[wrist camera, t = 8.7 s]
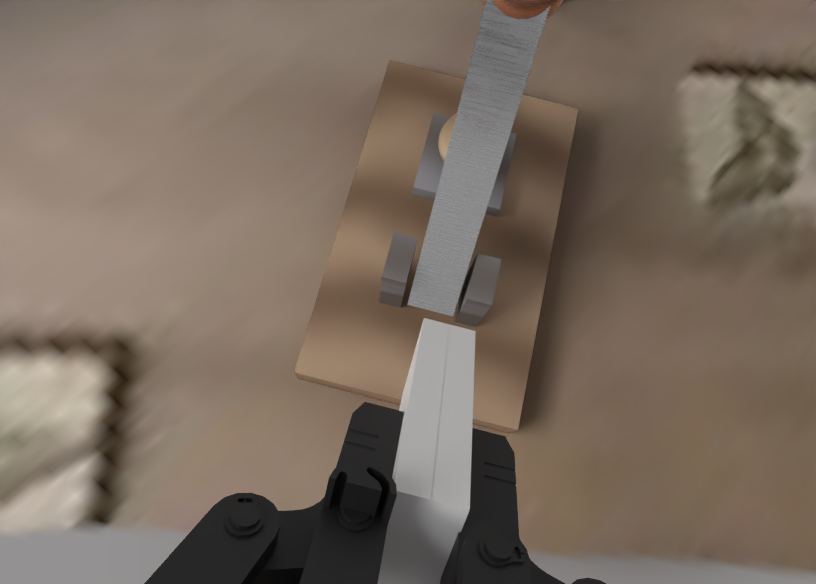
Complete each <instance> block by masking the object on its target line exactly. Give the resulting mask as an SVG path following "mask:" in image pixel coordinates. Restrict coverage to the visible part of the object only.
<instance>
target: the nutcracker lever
mask: <svg viewBox="0 0 816 584" xmlns="http://www.w3.org/2000/svg"><path fill="white" fill-rule="evenodd" d="M563 1H564V0H482V2H483V4H484V6H485V7H484V11H483V15H482V19H481V23H480V26H479V30H478V34H477V38H476V42H475V46H474V50H473V53H472V57H471V61H470V65H469V69H468V73H467V77H466V80H465V84H464V88H463V92H462V96H461V100H460V104H459V107H458V111H457V115H456V119H455V123H454V127H453V131H452V134H451V138H450V142H449V146H448V150H447V154H446V158H445V161H444V165H443V169H442V173H441V177H440V181H439V184H438V188H437V192H436V196H435V200H434V204H433V208H432V211H431V215H430V219H429V223H428V227H427V231H426V235H425V238H424V242H423V246H422V250H421V254H420V258H419V262H418V265H417V269H416V273H415V277H414V281H413V285H412V289H411V293H410V296H409V300H408V304H407V305H410V306H414V307H418V308H422V309H426V310H430V311H433V312H437V313H441V314H445V315H449V316H453V315H454V312H455V308H456V305H457V302H458V299H459V296H460V292H461V289H462V286H463V283H464V280H465V276H466V273H467V270H468V267H469V264H470V260H471V257H472V254H473V251H474V248H475V244H476V241H477V238H478V235H479V232H480V228H481V225H482V222H483V219H484V216H485V212H486V209H487V206H488V203H489V200H490V196H491V193H492V190H493V187H494V184H495V180H496V177H497V174H498V171H499V168H500V164H501V161H502V158H503V155H504V152H505V148H506V145H507V142H508V139H509V136H510V132H511V129H512V126H513V123H514V120H515V116H516V113H517V110H518V107H519V104H520V100H521V97H522V94H523V91H524V88H525V84H526V81H527V78H528V75H529V72H530V68H531V65H532V62H533V59H534V56H535V52H536V49H537V46H538V43H539V40H540V36H541V33H542V30H543V27H544V24H545V20H546V19H547V18H549V17H550V16H551V15H552V14H553V13H555V12H556V10H557V9H558V8H559V7H560V5H561V4H562V2H563Z"/></svg>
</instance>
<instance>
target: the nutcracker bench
mask: <svg viewBox="0 0 816 584" xmlns="http://www.w3.org/2000/svg"><path fill="white" fill-rule="evenodd" d="M464 84H465V79H462V78H458V77H454V76H450V75H446V74H442V73H438V72H434V71H431V70H427V69H423V68H419V67H415V66H411V65H407V64H403V63H399V62H396V61H392V60H390V61H389V64H388V67H387V71H386V74H385V77H384V80H383V84H382V87H381V90H380V93H379V97H378V100H377V103H376V106H375V110H374V113H373V116H372V120H371V123H370V126H369V129H368V133H367V136H366V139H365V142H364V146H363V149H362V152H361V155H360V159H359V162H358V165H357V168H356V172H355V175H354V178H353V182H352V185H351V188H350V191H349V195H348V198H347V201H346V204H345V208H344V211H343V214H342V217H341V221H340V224H339V227H338V230H337V234H336V237H335V240H334V244H333V247H332V250H331V253H330V257H329V260H328V263H327V266H326V270H325V273H324V276H323V279H322V283H321V286H320V289H319V293H318V296H317V299H316V302H315V306H314V309H313V312H312V315H311V319H310V322H309V325H308V328H307V332H306V335H305V338H304V341H303V345H302V348H301V351H300V355H299V358H298V361H297V364H296V368H295V371H294V373H295V375H296V376H297V378H298V379H302V380H306V381H310V382H314V383H318V384H322V385H325V386H329V387H333V388H337V389H341V390H345V391H349V392H352V393H356V394H360V395H364V396H368V397H372V398H376V399H380V400H383V401H387V402H391V403H395V404H399V405H400V404H401V399H402V394H403V391H404V387H405V383H406V380H407V376H408V373H409V369H410V366H411V362H412V359H413V355H414V351H415V348H416V344H417V341H418V337H419V334H420V330H421V327H422V323H423V319H424V318H427V319H430V320H434V321H438V322H442V323H446V324H450V325H454V326H458V327H462V328H465V329H469V330H473V331H476V332H475V363H474V394H473V424H476V425H480V426H484V427H488V428H491V429H495V430H499V431H503V432H507V433H511V432H514V431H517V430H518V427H519V422H520V416H521V411H522V406H523V400H524V395H525V390H526V384H527V379H528V374H529V368H530V363H531V358H532V353H533V347H534V342H535V337H536V331H537V326H538V321H539V315H540V310H541V305H542V299H543V294H544V289H545V283H546V278H547V273H548V268H549V262H550V257H551V252H552V246H553V241H554V236H555V230H556V225H557V220H558V214H559V209H560V204H561V198H562V193H563V188H564V183H565V177H566V172H567V167H568V161H569V156H570V151H571V145H572V140H573V135H574V129H575V124H576V119H577V113H578V108H574V107H570V106H566V105H563V104H559V103H555V102H551V101H547V100H543V99H539V98H535V97H531V96H528V95H524V94H522V97H521V100H520V104H519V107H518V110H517V113H516V116H515V120H514V123H513V126H512V129H511V132H510V136H509V139H508V142H507V145H506V148H505V152H504V155H503V158H502V161H501V164H500V168H499V171H498V174H497V177H496V180H495V184H494V187H493V190H492V193H491V196H490V200H489V203H488V206H487V209H486V212H485V216H484V219H483V222H482V225H481V228H480V232H479V235H478V238H477V241H476V244H475V248H474V251H473V254H472V257H471V260H470V264H469V267H468V270H467V273H466V276H465V280H464V283H463V286H462V289H461V292H460V296H459V299H458V302H457V305H456V308H455V312H454V315H453V316H449V315H445V314H441V313H437V312H433V311H430V310H426V309H422V308H418V307H414V306H410V305H407V304H408V300H409V296H410V293H411V289H412V285H413V281H414V277H415V273H416V269H417V265H418V262H419V258H420V254H421V250H422V246H423V242H424V238H425V235H426V231H427V227H428V223H429V219H430V215H431V211H432V208H433V204H434V200H435V196H436V192H437V188H438V184H439V181H440V177H441V173H442V169H443V165H444V161H445V158H446V154H447V150H448V146H449V142H450V138H451V134H452V131H453V127H454V123H455V119H456V115H457V111H458V107H459V104H460V100H461V96H462V92H463V88H464Z"/></svg>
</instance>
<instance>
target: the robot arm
mask: <svg viewBox="0 0 816 584" xmlns="http://www.w3.org/2000/svg"><path fill="white" fill-rule="evenodd" d="M475 332H476V331H473V330H469V329H465V328H462V327H458V326H454V325H450V324H446V323H442V322H438V321H434V320H430V319H427V318H424V319H423V323H422V327H421V330H420V334H419V337H418V341H417V344H416V348H415V351H414V355H413V359H412V362H411V366H410V369H409V373H408V376H407V380H406V383H405V387H404V391H403V394H402V399H401V404H400V409H399V411H398V410H394V409H390V408H386V407H383V406H379V405H375V404H371V403H367V402H364V403H363V404H362V405H361V406H360V407H359V408H358V409H357V410H356V411H355V412H353V414H352V417H351V420H350V424H349V427H348V431H347V434H346V437H345V440H344V444H343V447H342V450H341V453H340V457H339V460H338V463H337V466H336V468H335V469H334V471H333V472H332V474H331V476H330V477H329V481H328V485H327V490H326V494H325V497H324V498H323V499H322V500H321V501H320V502H319V503H317V504H315V505H314V506H312V507H309V508H306V509H302V510H294V511H278V510H277V509H276V507H275V505H274V504H273V503H272V502H270V501H269V500H268V499H266V498H265V497H263V496H260V495H256V494H253V493H236V494H233V495H230V496H227V497H225V498H223V499H222V500H221V501H219V502H218V503H217V504H215V505H214V506H213V507H212V508H211V509H210V511H209V512H208V513H207V514H206V515H205V516H204V517H203V518H202V520H201V521H200V522H199V523H198V524H197V525H196V526H195V527H194V529H193V530H192V531H191V532H190V533H189V534H188V535H187V536H186V538H185V539H184V540H183V541H182V542H181V543H180V544H179V545H178V546H177V548H176V549H175V550H174V551H173V552H172V553H171V554H170V555H169V557H168V558H167V559H166V560H165V561H164V563H162V564H161V566H160V567H159V568H158V569H157V570H156V571H155V572H154V573H153V575H152V576H151V577H150V578H149V579H148V580H147V581H146V582H145V584H565V583H563V582H561V581H559V580H558V579H556V578H554V577H552V576H551V575H549V574H547V573H546V572H544V571H542V570H541V569H540V568H538V567H537V566H536V565H535V564H534V563H533V562H532V561H531V560H530V558H529V556H528V553H527V549H526V548H525V546H524V545H523V544H522V542H521V541H520V538H519V529H518V511H517V493H516V486H515V485H516V475H515V458H514V452H513V450H512V448H511V446H510V445H509V443H508V441H507V439H506V437H505V436H501V435H497V434H493V433H489V432H485V431H482V430H478V429H474V428H472V425H473V394H474V363H475ZM572 584H606V583H604V582H602V581H600V580H595V579H591V578H584V579H578V580H576V581H575V582H573V583H572Z"/></svg>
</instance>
